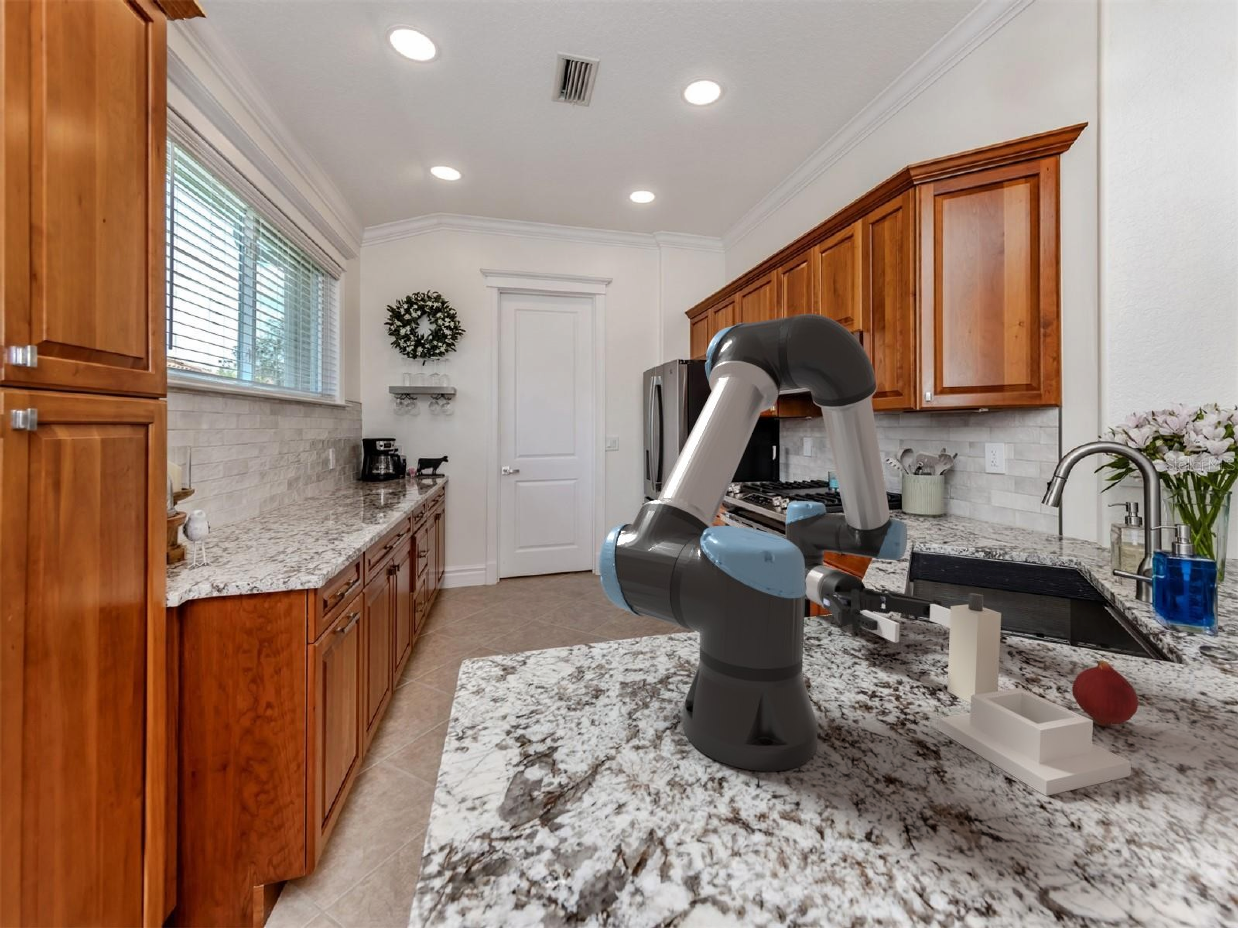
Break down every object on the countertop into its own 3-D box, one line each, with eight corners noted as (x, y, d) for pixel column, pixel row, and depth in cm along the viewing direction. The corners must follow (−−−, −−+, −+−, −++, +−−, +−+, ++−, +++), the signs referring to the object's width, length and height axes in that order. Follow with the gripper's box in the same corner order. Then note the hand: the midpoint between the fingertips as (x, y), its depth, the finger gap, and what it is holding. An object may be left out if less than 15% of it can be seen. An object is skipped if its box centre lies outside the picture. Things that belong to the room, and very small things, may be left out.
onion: (1108, 714, 66) (1111, 653, 66) (1150, 740, 60) (1154, 672, 60) (1059, 711, 67) (1062, 650, 66) (1096, 736, 61) (1099, 669, 61)
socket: (938, 730, 62) (939, 689, 61) (1013, 717, 65) (1014, 678, 65) (1045, 796, 50) (1048, 745, 50) (1130, 776, 53) (1132, 728, 53)
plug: (947, 691, 72) (951, 591, 71) (969, 688, 73) (973, 590, 72) (974, 705, 68) (978, 600, 67) (997, 701, 69) (1001, 598, 68)
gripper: (888, 605, 101) (995, 646, 80) (777, 615, 94) (864, 662, 73) (889, 567, 100) (997, 598, 80) (778, 574, 93) (865, 610, 73)
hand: (934, 629), depth 77 cm, fingers open, 13 cm apart
